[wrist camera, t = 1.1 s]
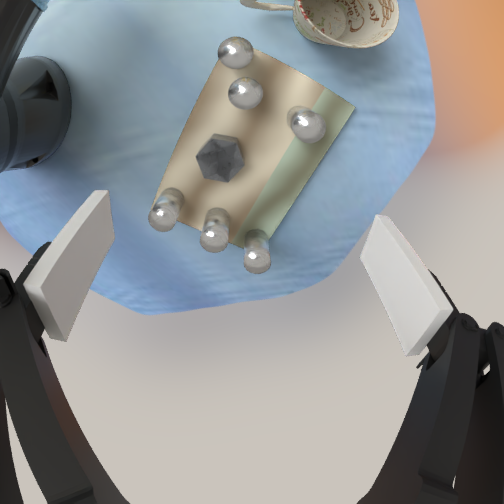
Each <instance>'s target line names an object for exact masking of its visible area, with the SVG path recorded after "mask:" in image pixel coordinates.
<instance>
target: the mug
mask: <svg viewBox="0 0 504 504" xmlns="http://www.w3.org/2000/svg"><path fill="white" fill-rule="evenodd" d="M240 3H241V4H242V5H244V6H246V7H250V8H255V9H261V10H269V11H278V10H285V11H286V10H293V20H294V24H295V26H296V28H297V29H298V31H299V32H300V33H301V34H302V35H303V36H304V37H306V38H307V39H309V40H311V41H313V42H317V43H321V44H329V45H335V46H341V47H347V48H369V47H373V46H376V45H379V44H381V43H383V42H384V41H386V40H387V39H388V38H389V37H390V36H391V35H392V34H393V33H394V31H395V29H396V27H397V24H398V20H399V8H398V3H397V0H295V3H294V7H293V6H288V5H279V4H271V3H260V2H256V0H240Z"/></svg>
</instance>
